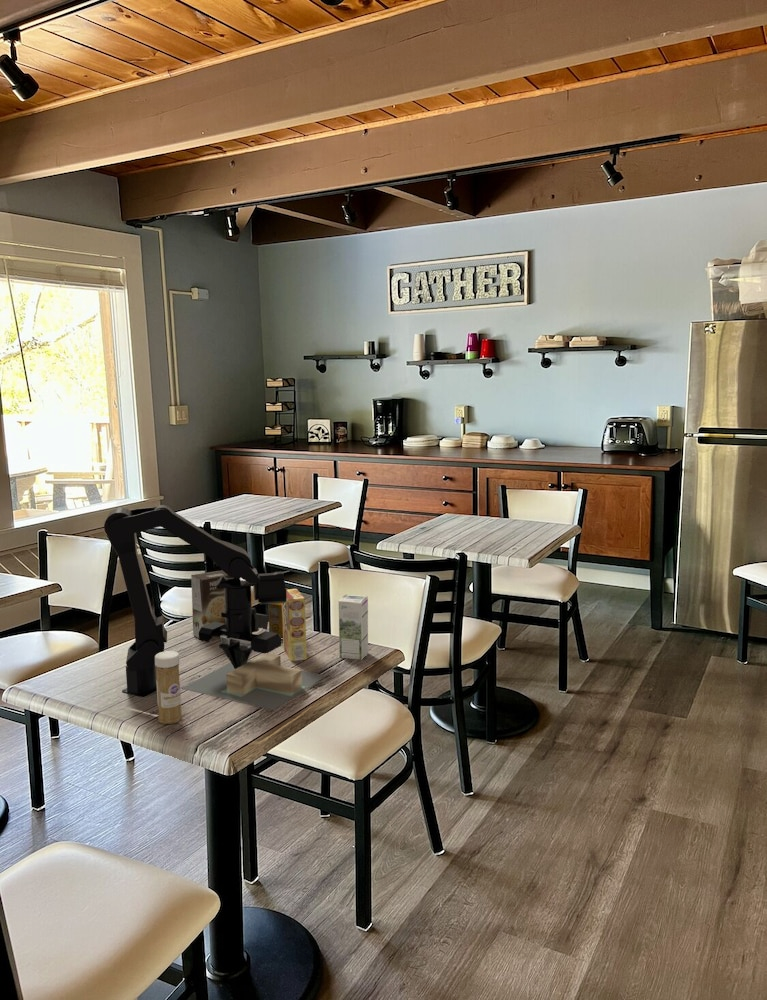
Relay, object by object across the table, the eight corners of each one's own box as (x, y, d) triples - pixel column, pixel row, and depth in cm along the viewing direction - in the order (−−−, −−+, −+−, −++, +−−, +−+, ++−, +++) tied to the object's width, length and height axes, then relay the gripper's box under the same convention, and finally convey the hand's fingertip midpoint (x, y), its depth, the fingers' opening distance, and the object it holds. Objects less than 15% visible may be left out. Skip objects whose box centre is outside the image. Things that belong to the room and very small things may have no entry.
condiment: (299, 635, 201) (298, 590, 199) (272, 643, 195) (271, 596, 193) (282, 628, 206) (281, 584, 204) (256, 636, 200) (254, 591, 198)
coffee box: (203, 641, 196) (200, 580, 193) (192, 635, 201) (189, 574, 198) (236, 634, 202) (233, 574, 199) (224, 627, 206) (222, 569, 204)
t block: (277, 703, 158) (277, 685, 158) (226, 692, 164) (226, 674, 163) (314, 679, 170) (314, 662, 170) (266, 669, 176) (265, 652, 176)
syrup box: (369, 653, 187) (368, 594, 185) (361, 661, 182) (361, 602, 179) (346, 650, 189) (345, 593, 187) (338, 659, 183) (337, 600, 181)
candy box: (307, 660, 183) (306, 597, 180) (289, 663, 181) (288, 599, 179) (299, 648, 191) (297, 587, 188) (282, 650, 190) (280, 589, 187)
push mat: (273, 712, 155) (273, 710, 155) (181, 689, 166) (181, 688, 166) (326, 677, 173) (326, 675, 173) (240, 659, 184) (240, 657, 184)
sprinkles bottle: (170, 726, 149) (167, 660, 147) (153, 721, 151) (149, 656, 149) (187, 717, 153) (183, 652, 151) (170, 712, 155) (166, 648, 153)
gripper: (295, 601, 171) (296, 669, 174) (228, 590, 180) (230, 655, 182) (264, 616, 161) (266, 687, 164) (195, 603, 170) (198, 671, 173)
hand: (240, 674), depth 171 cm, fingers closed
